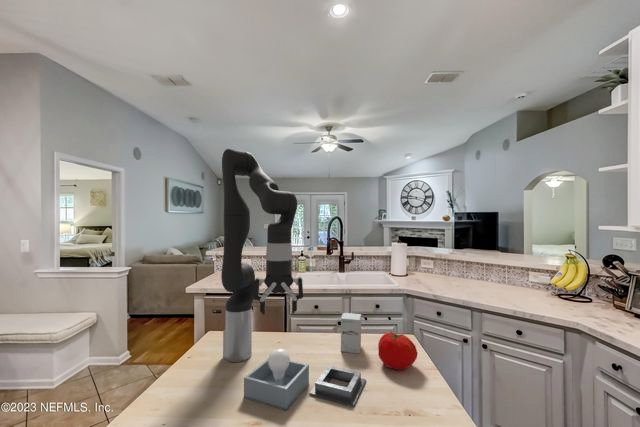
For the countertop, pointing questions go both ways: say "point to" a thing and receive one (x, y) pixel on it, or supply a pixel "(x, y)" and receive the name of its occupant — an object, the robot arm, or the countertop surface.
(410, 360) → the tomato
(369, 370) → the countertop surface
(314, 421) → the countertop surface
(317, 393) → the dark grey square frame
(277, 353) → the lightbulb
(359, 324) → the supplement box
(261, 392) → the bin
